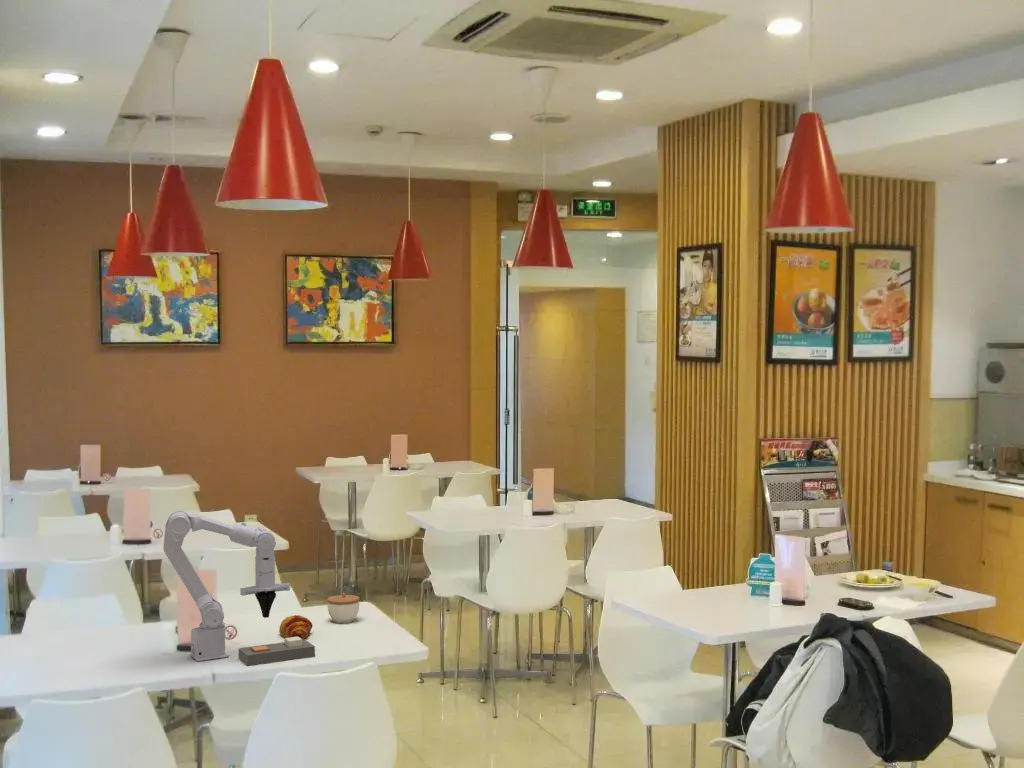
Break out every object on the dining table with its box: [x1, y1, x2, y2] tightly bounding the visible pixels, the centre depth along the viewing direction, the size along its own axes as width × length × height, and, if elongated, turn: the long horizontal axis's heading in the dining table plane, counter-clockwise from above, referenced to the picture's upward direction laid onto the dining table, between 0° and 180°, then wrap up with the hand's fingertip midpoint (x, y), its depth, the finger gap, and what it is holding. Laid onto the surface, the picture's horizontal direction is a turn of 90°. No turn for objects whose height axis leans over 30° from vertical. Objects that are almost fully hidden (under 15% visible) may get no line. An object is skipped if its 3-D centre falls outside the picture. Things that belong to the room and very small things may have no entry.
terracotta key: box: [250, 645, 269, 653], centre depth 310 cm, size 4×4×3 cm
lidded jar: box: [326, 592, 360, 624], centre depth 358 cm, size 11×11×9 cm
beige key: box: [284, 637, 303, 648], centre depth 315 cm, size 4×4×3 cm
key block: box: [238, 639, 316, 667], centre depth 313 cm, size 20×9×3 cm, turn 120°
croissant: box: [279, 614, 313, 640], centre depth 340 cm, size 21×10×8 cm, turn 19°
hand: (265, 616), depth 319 cm, fingers closed
